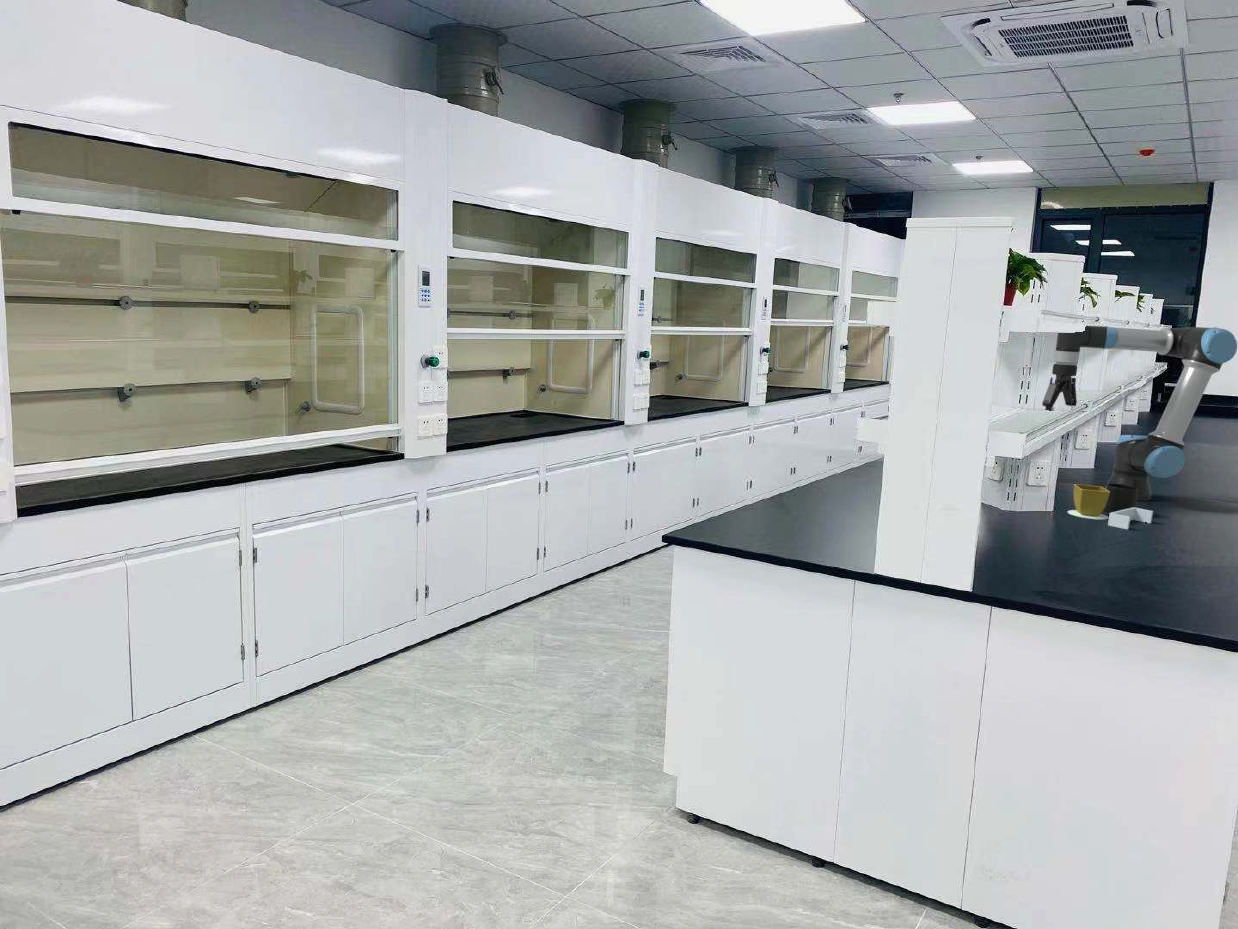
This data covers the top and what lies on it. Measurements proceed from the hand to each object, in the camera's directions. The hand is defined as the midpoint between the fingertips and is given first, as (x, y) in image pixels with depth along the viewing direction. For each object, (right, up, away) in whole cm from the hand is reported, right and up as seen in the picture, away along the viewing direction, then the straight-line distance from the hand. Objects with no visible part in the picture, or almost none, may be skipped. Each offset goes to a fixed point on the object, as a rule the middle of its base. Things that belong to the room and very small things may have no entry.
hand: (1056, 424), depth 311 cm
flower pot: (+1, -30, -18) cm, 35 cm away
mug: (+17, -30, -10) cm, 36 cm away
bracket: (+10, -33, -28) cm, 44 cm away
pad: (+1, -31, -18) cm, 35 cm away
